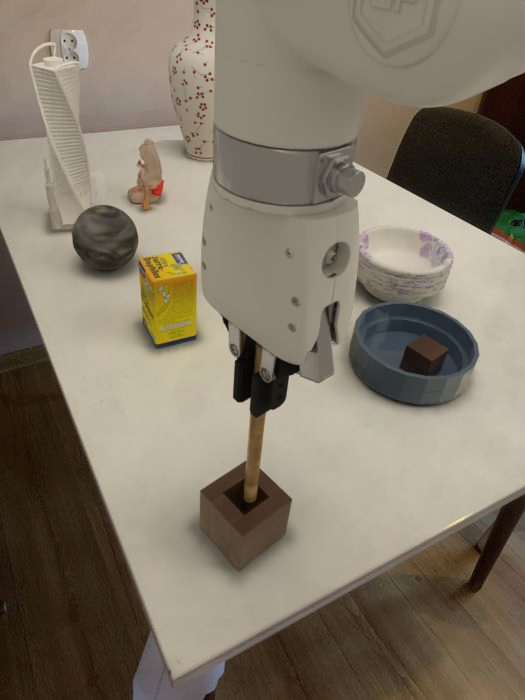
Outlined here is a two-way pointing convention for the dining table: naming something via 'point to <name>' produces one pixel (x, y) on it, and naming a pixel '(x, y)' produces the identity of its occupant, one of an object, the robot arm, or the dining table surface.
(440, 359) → the walnut cube
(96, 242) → the decorative stone
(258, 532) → the stick holder
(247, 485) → the bamboo stick
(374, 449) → the dining table surface
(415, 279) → the paper bowls
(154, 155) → the figurine
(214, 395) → the dining table surface
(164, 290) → the supplement box
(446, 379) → the stir bowl
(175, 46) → the vase
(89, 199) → the skyscraper
